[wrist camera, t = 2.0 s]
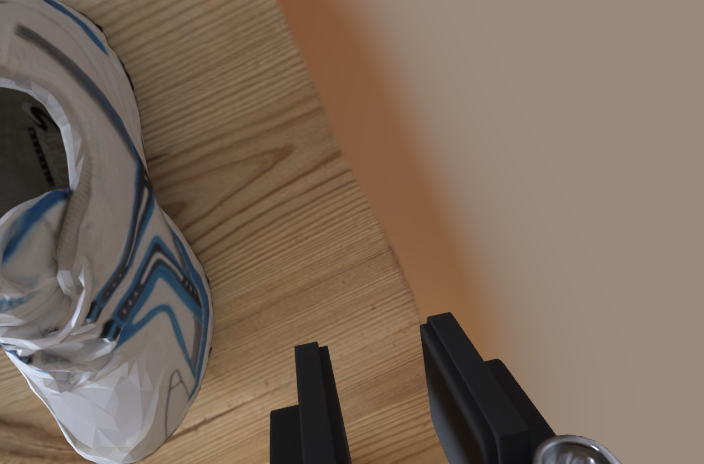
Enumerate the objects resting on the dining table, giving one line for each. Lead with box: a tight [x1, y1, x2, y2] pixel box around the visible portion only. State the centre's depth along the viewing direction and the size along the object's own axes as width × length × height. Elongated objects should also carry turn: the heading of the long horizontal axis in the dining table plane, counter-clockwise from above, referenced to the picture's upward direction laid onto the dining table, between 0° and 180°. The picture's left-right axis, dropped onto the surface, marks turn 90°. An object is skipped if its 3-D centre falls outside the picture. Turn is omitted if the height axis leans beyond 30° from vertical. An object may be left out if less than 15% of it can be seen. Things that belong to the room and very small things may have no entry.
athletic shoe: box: [0, 0, 214, 464], centre depth 22 cm, size 10×23×12 cm, turn 14°
